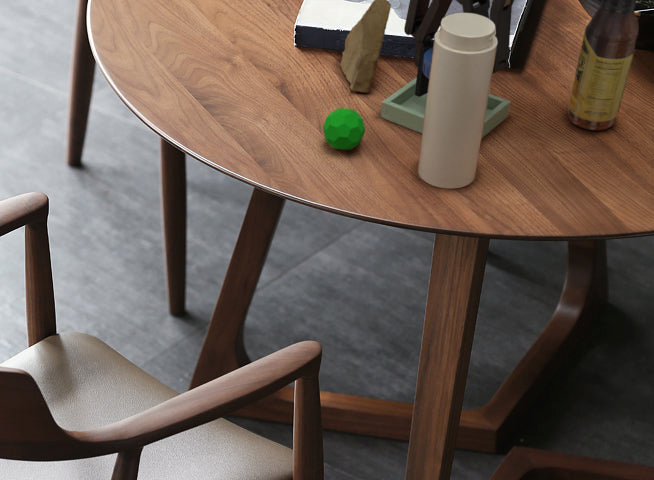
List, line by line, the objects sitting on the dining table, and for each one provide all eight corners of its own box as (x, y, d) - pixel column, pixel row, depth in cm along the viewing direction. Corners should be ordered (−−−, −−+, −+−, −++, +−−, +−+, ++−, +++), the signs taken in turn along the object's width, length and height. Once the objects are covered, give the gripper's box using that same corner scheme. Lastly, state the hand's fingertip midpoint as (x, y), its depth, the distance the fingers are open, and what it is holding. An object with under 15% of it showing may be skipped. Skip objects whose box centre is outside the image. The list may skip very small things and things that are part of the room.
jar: (485, 170, 128) (511, 22, 116) (456, 195, 124) (479, 45, 112) (436, 151, 131) (457, 4, 118) (406, 175, 127) (424, 26, 114)
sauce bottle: (575, 103, 140) (610, -48, 127) (622, 117, 138) (662, -36, 125) (557, 125, 136) (591, -29, 123) (605, 139, 134) (645, -16, 120)
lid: (412, 63, 134) (413, 48, 133) (464, 54, 136) (466, 40, 135) (437, 90, 129) (439, 75, 128) (490, 80, 131) (493, 66, 130)
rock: (385, 87, 137) (419, 47, 143) (349, 30, 134) (385, -9, 139) (326, 111, 146) (360, 72, 151) (291, 58, 142) (327, 19, 147)
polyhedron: (354, 161, 129) (357, 126, 126) (316, 151, 130) (318, 116, 127) (368, 141, 132) (371, 106, 129) (331, 132, 134) (333, 97, 131)
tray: (508, 116, 138) (511, 101, 136) (466, 151, 131) (468, 135, 130) (424, 85, 143) (426, 70, 141) (380, 117, 137) (381, 101, 135)
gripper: (383, -98, 124) (369, 84, 139) (522, -44, 113) (489, 146, 129) (427, -113, 127) (408, 66, 143) (565, -62, 117) (528, 125, 132)
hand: (446, 103), depth 136 cm, fingers closed on lid, 7 cm apart
